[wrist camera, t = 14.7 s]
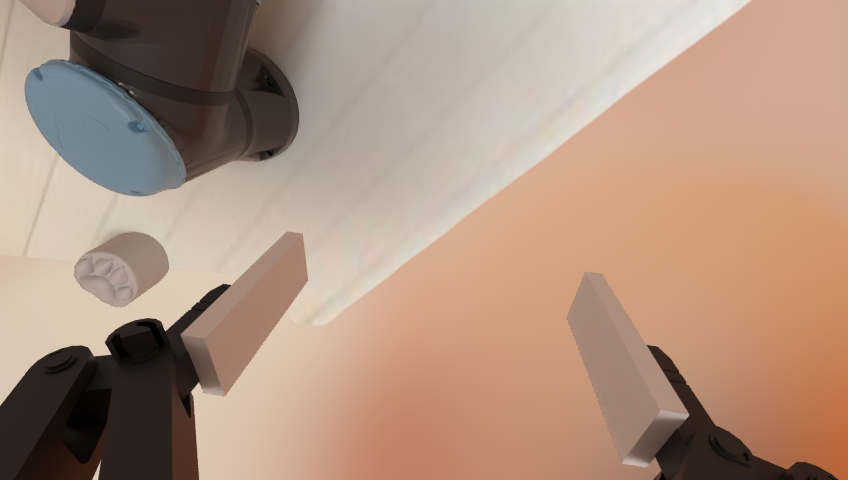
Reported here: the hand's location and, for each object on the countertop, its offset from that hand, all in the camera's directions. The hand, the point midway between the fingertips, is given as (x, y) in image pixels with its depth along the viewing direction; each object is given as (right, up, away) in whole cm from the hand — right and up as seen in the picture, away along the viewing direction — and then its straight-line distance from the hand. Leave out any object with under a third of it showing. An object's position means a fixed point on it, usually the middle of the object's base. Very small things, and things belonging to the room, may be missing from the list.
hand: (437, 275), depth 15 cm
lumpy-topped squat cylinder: (-56, -2, +49) cm, 74 cm away
